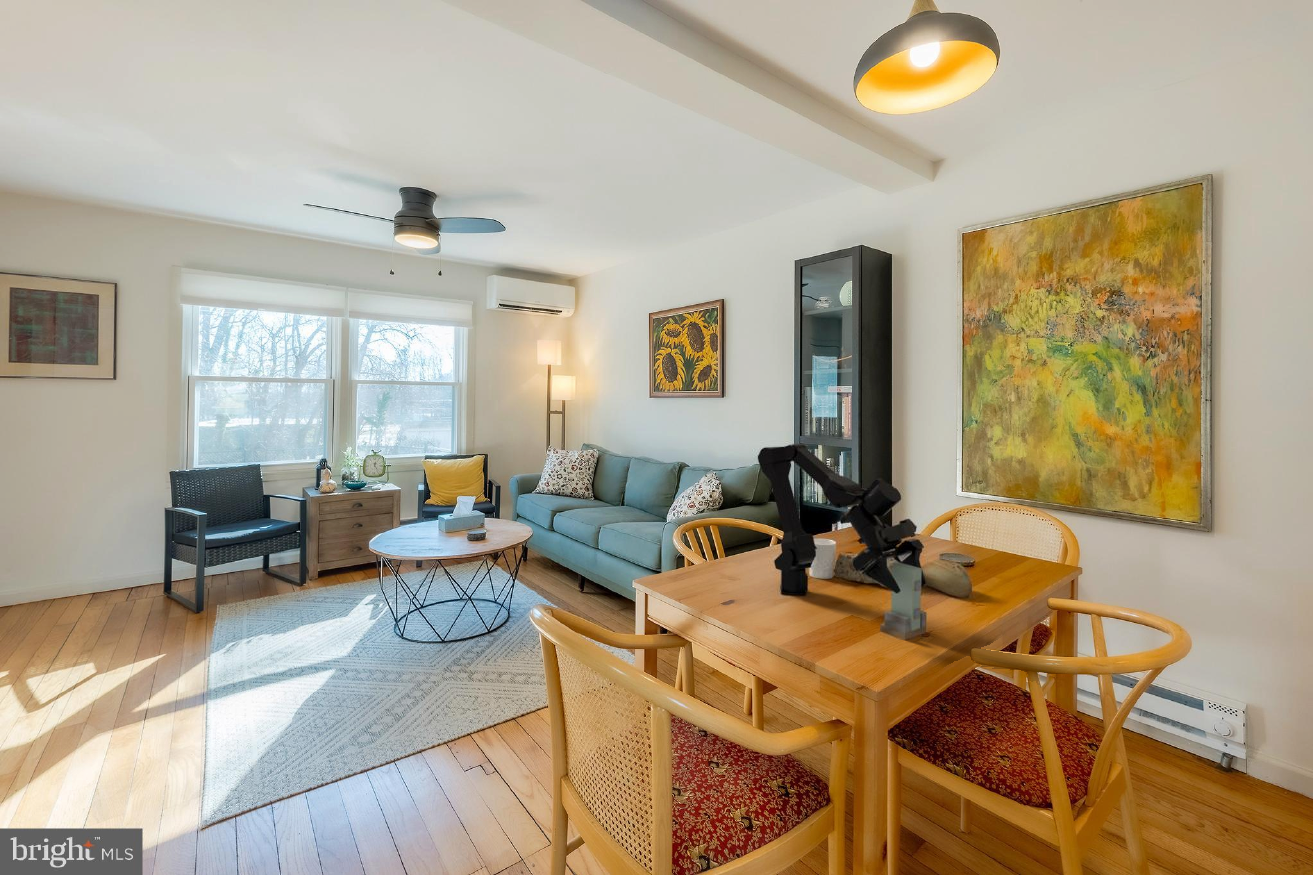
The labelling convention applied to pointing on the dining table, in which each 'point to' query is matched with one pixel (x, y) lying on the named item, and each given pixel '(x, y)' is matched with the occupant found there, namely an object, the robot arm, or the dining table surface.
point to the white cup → (823, 559)
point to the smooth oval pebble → (947, 577)
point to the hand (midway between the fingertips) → (912, 588)
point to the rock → (848, 572)
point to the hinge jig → (902, 625)
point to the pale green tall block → (907, 593)
